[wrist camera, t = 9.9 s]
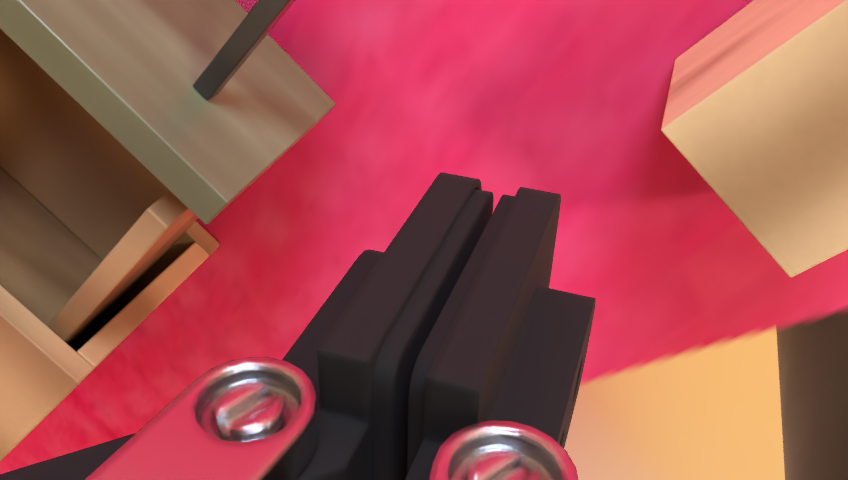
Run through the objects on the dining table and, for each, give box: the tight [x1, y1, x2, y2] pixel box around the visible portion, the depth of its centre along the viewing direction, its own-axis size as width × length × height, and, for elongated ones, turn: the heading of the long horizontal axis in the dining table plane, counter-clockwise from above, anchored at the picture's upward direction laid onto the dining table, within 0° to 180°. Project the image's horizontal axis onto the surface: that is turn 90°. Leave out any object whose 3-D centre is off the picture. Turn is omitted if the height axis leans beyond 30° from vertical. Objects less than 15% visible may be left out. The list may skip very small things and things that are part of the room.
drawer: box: [0, 0, 335, 345], centre depth 24 cm, size 21×11×7 cm, turn 136°
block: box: [661, 0, 848, 277], centre depth 19 cm, size 5×5×5 cm
